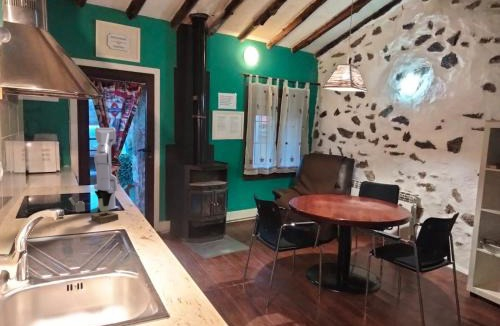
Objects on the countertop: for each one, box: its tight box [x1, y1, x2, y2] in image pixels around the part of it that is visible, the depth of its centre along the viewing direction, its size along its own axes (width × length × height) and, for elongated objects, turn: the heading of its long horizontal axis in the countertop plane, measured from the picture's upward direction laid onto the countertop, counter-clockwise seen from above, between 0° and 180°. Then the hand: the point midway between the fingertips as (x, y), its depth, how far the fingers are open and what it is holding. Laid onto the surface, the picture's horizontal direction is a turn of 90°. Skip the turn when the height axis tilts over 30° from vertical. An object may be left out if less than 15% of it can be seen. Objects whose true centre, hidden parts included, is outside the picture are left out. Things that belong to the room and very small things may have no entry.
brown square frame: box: [90, 210, 119, 225], centre depth 163 cm, size 9×9×2 cm
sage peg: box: [99, 198, 109, 213], centre depth 162 cm, size 3×3×6 cm
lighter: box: [68, 196, 86, 213], centre depth 175 cm, size 7×2×8 cm, turn 130°
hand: (104, 205), depth 163 cm, fingers closed on sage peg, 3 cm apart
